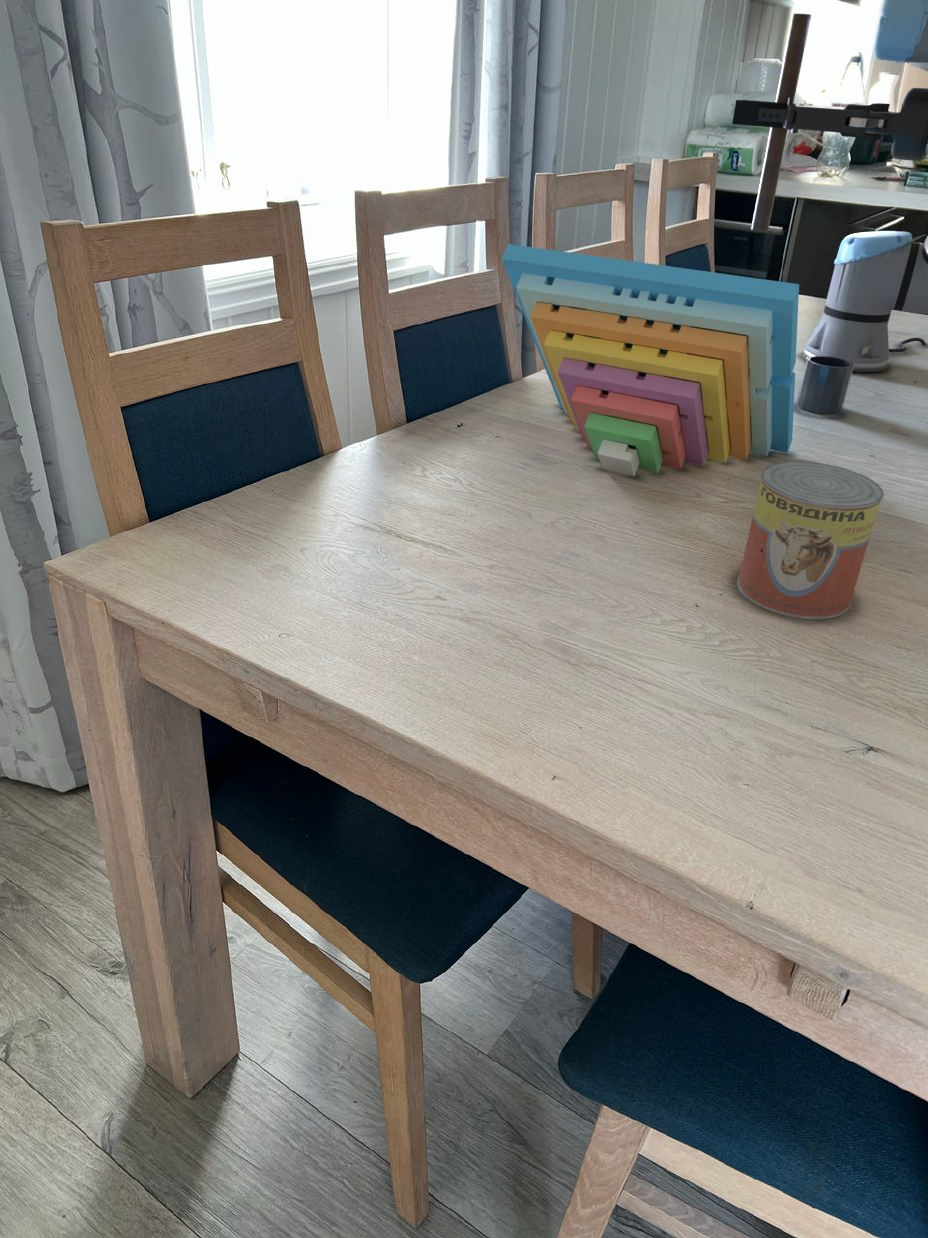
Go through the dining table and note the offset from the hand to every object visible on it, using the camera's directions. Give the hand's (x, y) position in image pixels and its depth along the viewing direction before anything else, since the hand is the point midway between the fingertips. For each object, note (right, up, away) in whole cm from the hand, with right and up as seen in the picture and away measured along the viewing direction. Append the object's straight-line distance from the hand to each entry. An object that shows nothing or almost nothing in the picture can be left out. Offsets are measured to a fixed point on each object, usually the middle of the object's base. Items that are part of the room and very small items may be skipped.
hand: (738, 111), depth 120 cm
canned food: (-1, -62, -23) cm, 66 cm away
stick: (+4, -13, +4) cm, 14 cm away
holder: (+22, -31, +32) cm, 50 cm away
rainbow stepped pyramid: (-10, -41, +11) cm, 44 cm away
